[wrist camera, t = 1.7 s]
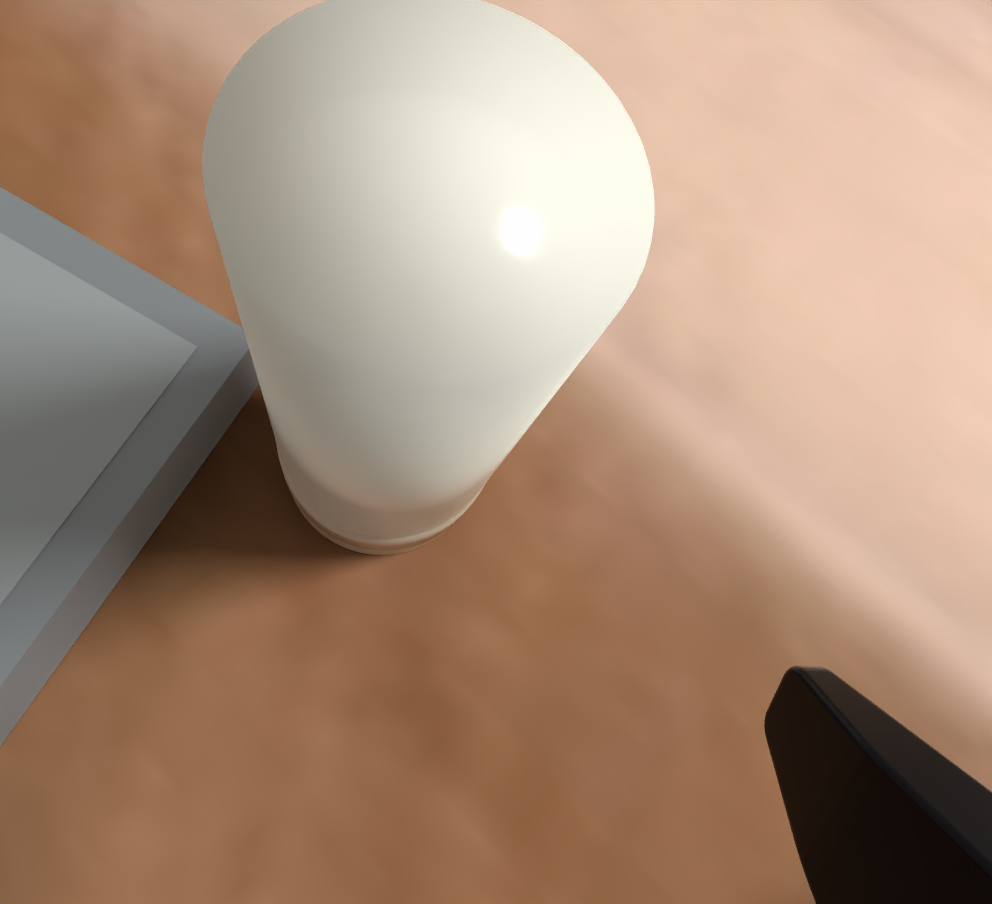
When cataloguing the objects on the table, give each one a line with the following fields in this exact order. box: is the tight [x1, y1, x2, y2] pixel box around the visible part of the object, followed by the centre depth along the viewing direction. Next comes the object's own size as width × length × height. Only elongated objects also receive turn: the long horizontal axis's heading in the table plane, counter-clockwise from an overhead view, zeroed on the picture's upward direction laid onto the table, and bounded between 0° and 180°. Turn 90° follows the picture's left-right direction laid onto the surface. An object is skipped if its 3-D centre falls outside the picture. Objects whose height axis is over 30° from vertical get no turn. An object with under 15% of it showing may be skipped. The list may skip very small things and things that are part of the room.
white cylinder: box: [203, 0, 655, 555], centre depth 15 cm, size 5×5×13 cm
